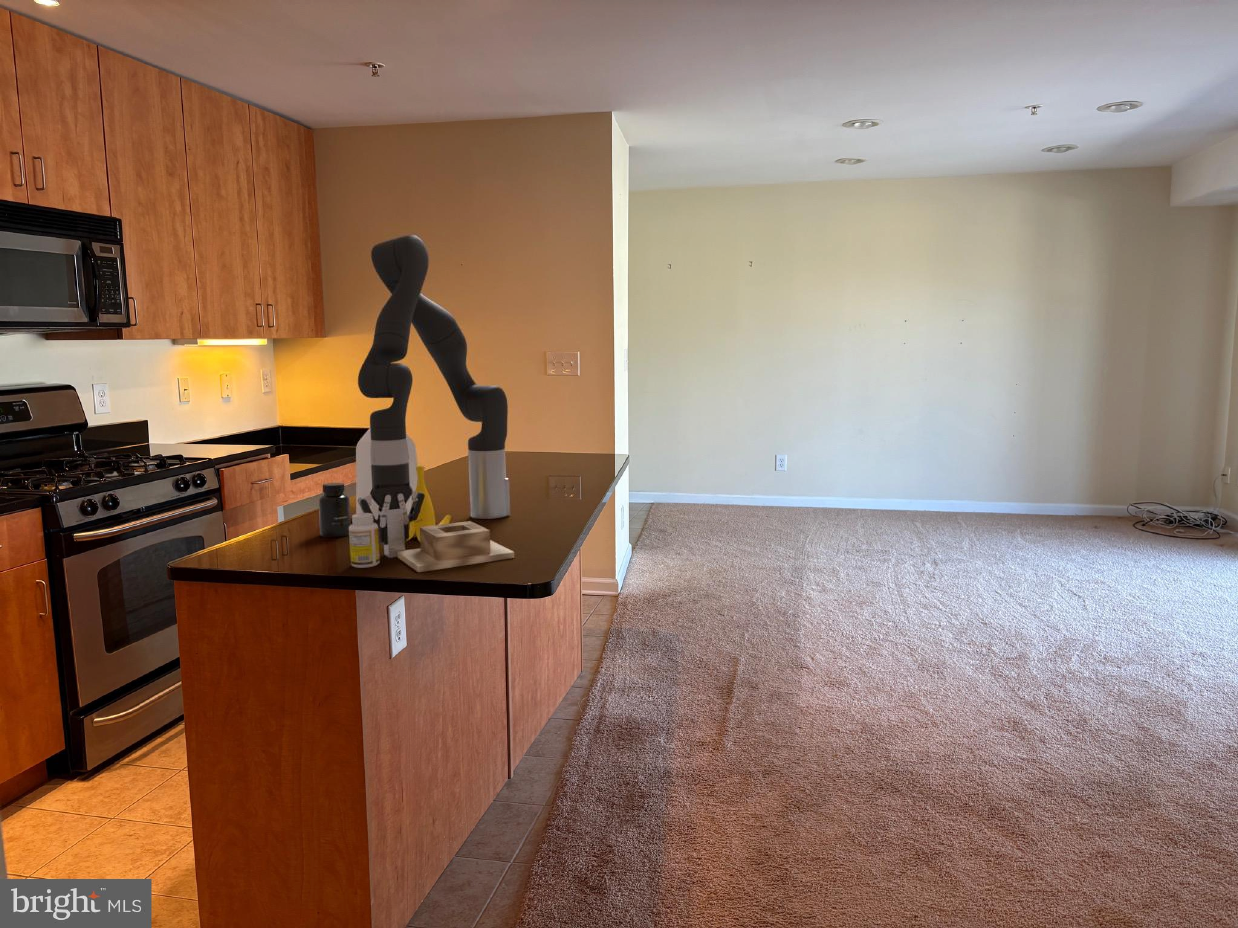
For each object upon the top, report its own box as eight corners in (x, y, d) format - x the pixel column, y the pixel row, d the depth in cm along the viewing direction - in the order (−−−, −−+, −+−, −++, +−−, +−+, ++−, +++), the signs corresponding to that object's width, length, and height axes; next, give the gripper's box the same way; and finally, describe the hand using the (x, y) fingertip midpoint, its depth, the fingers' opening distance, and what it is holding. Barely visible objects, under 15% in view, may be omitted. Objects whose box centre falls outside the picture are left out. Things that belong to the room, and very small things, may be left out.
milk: (422, 513, 217) (417, 414, 213) (388, 521, 207) (383, 417, 204) (390, 509, 223) (385, 412, 220) (356, 516, 214) (350, 416, 210)
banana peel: (444, 547, 180) (441, 471, 178) (372, 541, 187) (368, 467, 185) (483, 531, 195) (481, 461, 193) (415, 526, 202) (412, 458, 200)
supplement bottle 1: (341, 538, 189) (338, 486, 187) (314, 537, 190) (311, 486, 189) (356, 532, 196) (354, 481, 194) (330, 531, 197) (327, 481, 195)
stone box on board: (488, 544, 182) (487, 517, 181) (514, 557, 170) (513, 528, 169) (397, 557, 171) (396, 528, 171) (418, 572, 159) (417, 541, 159)
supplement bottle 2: (369, 559, 169) (366, 510, 168) (385, 564, 166) (382, 514, 164) (345, 565, 165) (342, 515, 164) (361, 570, 162) (358, 518, 160)
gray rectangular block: (400, 552, 175) (398, 505, 174) (405, 555, 173) (402, 508, 171) (384, 554, 174) (381, 507, 172) (389, 557, 171) (386, 510, 169)
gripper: (417, 456, 177) (421, 535, 180) (350, 461, 170) (355, 543, 172) (429, 460, 171) (432, 542, 173) (359, 466, 164) (364, 551, 166)
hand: (394, 542), depth 173 cm, fingers closed on gray rectangular block, 3 cm apart
